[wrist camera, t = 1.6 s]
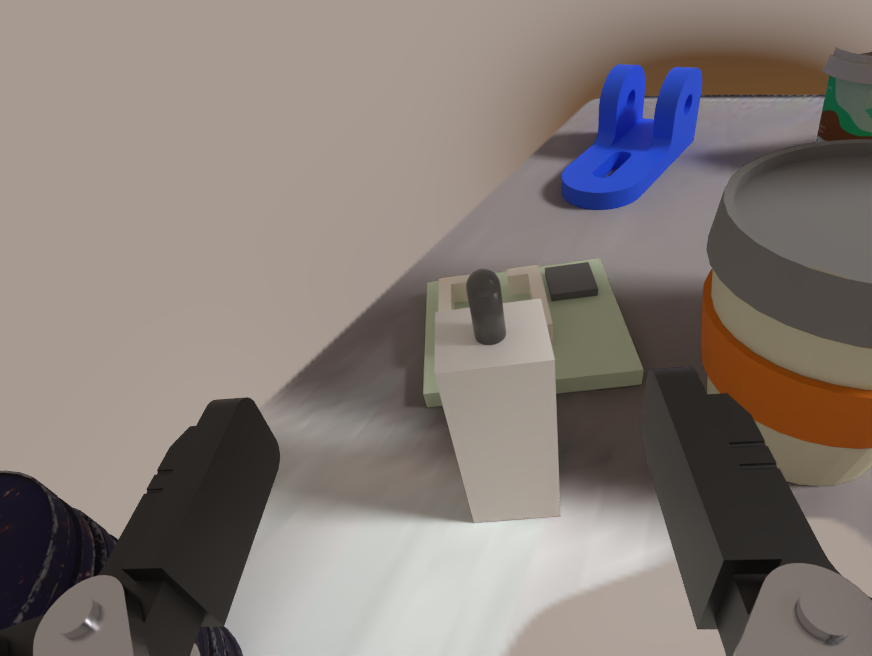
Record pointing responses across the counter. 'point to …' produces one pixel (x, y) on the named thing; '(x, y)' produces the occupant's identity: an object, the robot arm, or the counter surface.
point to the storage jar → (58, 556)
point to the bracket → (633, 138)
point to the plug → (500, 402)
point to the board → (554, 324)
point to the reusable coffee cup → (797, 306)
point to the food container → (847, 97)
